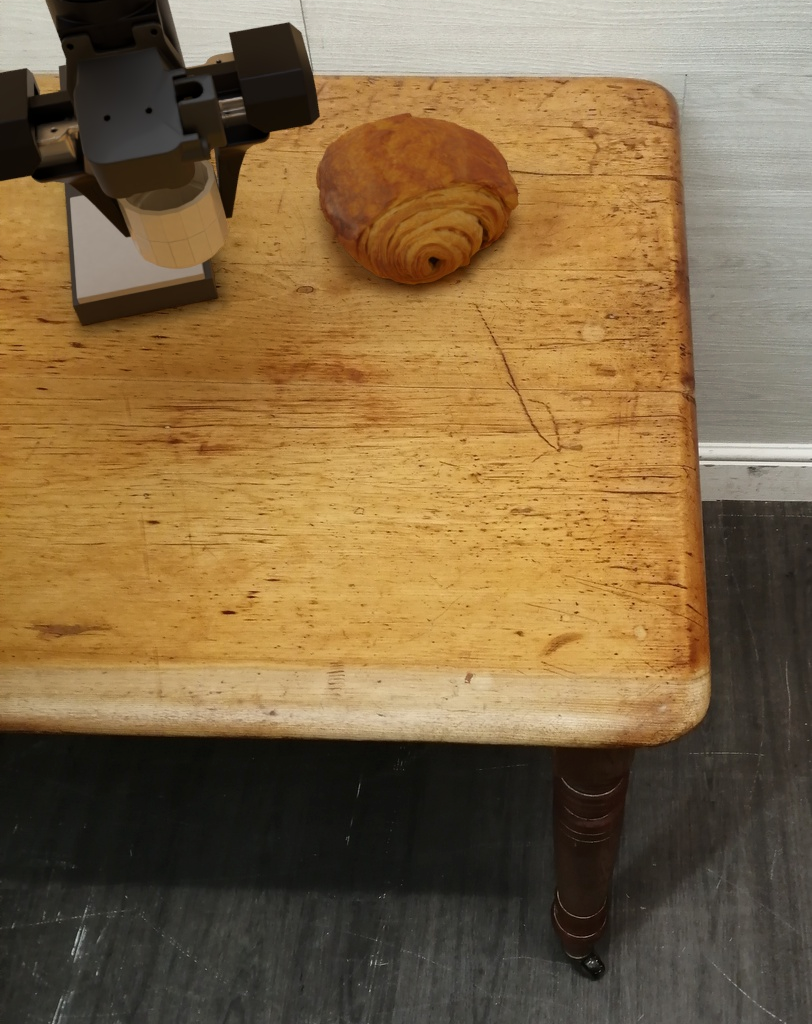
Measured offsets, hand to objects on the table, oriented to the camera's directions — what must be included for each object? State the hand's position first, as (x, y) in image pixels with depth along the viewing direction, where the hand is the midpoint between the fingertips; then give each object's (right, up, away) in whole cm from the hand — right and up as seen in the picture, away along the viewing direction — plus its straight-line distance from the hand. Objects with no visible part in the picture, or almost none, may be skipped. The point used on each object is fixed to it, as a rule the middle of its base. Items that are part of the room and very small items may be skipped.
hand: (178, 223), depth 60 cm
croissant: (+15, +5, +16) cm, 22 cm away
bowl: (0, -1, +1) cm, 1 cm away
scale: (-8, +8, +18) cm, 21 cm away
